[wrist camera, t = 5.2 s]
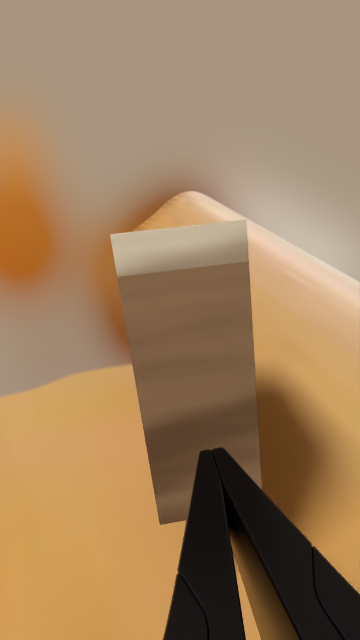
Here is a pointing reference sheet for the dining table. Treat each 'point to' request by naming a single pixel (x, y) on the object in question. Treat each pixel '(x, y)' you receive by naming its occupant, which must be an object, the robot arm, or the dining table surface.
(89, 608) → the dining table surface
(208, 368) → the cream and brown block
